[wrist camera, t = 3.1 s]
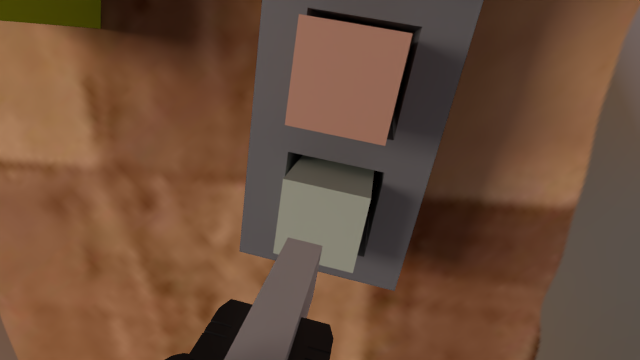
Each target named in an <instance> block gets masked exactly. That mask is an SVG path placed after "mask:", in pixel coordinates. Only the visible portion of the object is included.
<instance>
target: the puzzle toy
mask: <svg viewBox="0 0 640 360" xmlns="http://www.w3.org/2000/svg"><path fill="white" fill-rule="evenodd" d="M0 20H2V21H14V22H26V23H38V24H50V25H62V26H74V27H86V28H98V29H101V0H0Z"/></svg>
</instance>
